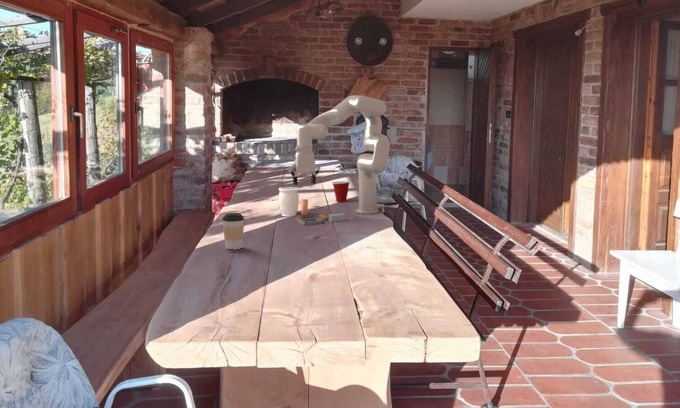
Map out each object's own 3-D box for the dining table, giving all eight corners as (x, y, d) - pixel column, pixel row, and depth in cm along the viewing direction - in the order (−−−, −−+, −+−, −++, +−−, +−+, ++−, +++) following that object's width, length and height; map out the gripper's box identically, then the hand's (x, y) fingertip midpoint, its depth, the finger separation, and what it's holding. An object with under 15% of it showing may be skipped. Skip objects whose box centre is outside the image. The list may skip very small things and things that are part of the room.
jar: (296, 218, 348) (295, 189, 346) (276, 218, 351) (276, 189, 348) (301, 214, 359) (300, 186, 356) (282, 214, 361) (281, 186, 358)
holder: (308, 219, 347) (308, 213, 347) (315, 221, 340) (315, 216, 340) (294, 220, 344) (294, 214, 343) (300, 223, 337) (300, 217, 336)
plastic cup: (338, 199, 407) (338, 179, 405) (353, 201, 401) (353, 181, 399) (328, 201, 398) (328, 181, 396) (343, 203, 392) (343, 183, 390)
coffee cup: (224, 246, 290) (223, 211, 287) (245, 245, 291) (244, 211, 288) (222, 251, 281) (221, 215, 278) (244, 250, 282) (243, 215, 279)
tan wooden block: (333, 219, 349) (333, 213, 348) (339, 222, 341) (339, 216, 341) (319, 220, 346) (319, 214, 345) (324, 223, 339) (324, 217, 338)
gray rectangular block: (342, 221, 342) (342, 213, 341) (345, 222, 339) (345, 214, 338) (328, 222, 338) (328, 214, 337) (331, 223, 335) (331, 215, 335)
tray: (315, 222, 340) (315, 217, 339) (323, 225, 332) (323, 220, 331) (297, 223, 335) (297, 219, 335) (304, 227, 327) (304, 222, 327)
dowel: (306, 218, 344) (306, 199, 342) (309, 219, 341) (308, 200, 339) (300, 219, 342) (300, 199, 341) (303, 220, 340) (302, 200, 338)
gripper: (291, 151, 329) (291, 186, 332) (323, 150, 337) (323, 184, 339) (285, 149, 335) (285, 184, 338) (317, 148, 343) (316, 182, 346)
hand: (304, 184), depth 339 cm, fingers open, 9 cm apart
